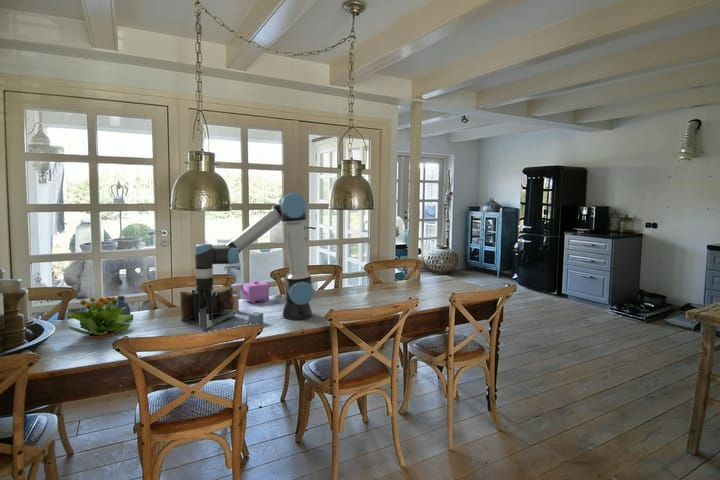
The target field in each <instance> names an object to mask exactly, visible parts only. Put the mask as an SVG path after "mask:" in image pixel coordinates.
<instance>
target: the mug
mask: <svg viewBox="0 0 720 480" xmlns="http://www.w3.org/2000/svg"><path fill="white" fill-rule="evenodd" d="M217 304H218V303H217ZM192 307H193V313H194V316H195V317H194V319H195V321H197V322H199V319H198V312H197V311H195V310H194V303H193V302H192ZM203 307H207V304H206V300H205V299H204V305H203Z"/></svg>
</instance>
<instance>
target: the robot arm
mask: <svg viewBox="0 0 720 480" xmlns="http://www.w3.org/2000/svg"><path fill="white" fill-rule="evenodd" d="M306 210H307V201H306V199H305V197H304V196H303V195H301V194H300V193H298V192H287V193H285V194H284V195H282V197H281V198H280V199H279V200H278V201H277V202H276V203H274V204H273V205H272V206H271V209H270V210H269V211H267V212H266V213H265V214H263V215H262V216H261V217H259V218H258V219H257V220H255V222H253V223H252V224H250V225H249V226H248V227H247V228H245V229H244V230H242V231H241V232H240V233H239V234H237V235H236V236H235V237H233V238H232V239H231V240H229V241H228V242H227V243H225V244H223V245H222V246H221V247H217V248H215V247H213V244H212V243H198V244H196V245H195V248H194V250H195V251H194V260H195V261H194V262H195V277H196V278H195V287H197V288H196V289H195V290H192V294H193V303H194V310H195V311H197V312H198V319H199V321H198V322H199V323H198V325H199V326H198V327H200V308H203V305H204V298H205V300H206V304H207V310H208V313H207V327H208V328H210V327H212V326H213V325H212V320H213V319H214V314H213V312H216V311H217V295H218V291H214V290H213V287H212V286H214V277H213V276H214V271H213V270H214V266H213V265H233V264H235V265H236V264H239V263H240V254H241V252H242V251H245V249H247V248H248V247H250V245H252V244H254V243H255V242H256V241H257V240H259V239H260V238H261V237H262V236H264V235H265V234H266V233H267V232H269V231H270V230H271V229H273V228H274V227H276V226H277V225H278V224H280V223H281V222H282V223H283V224H284V225H285V231H286V233H285V234H286V245H287V246H286V247H287V256H288V266H289V273H287V274H286V275H285V284H286V285H285V297H286V299H285V305H284V307H283V312H282V318H284V319H287V320H291V321H292V320H295V321H297V320H305V319H309V318H311V317H312V316H313V310H312V308H311V305H310V301H311V300H312V299H313V297H314V291H315V290H314V288H313V284H312V274H311V273H309V271H308V261H307V252H306V251H307V249H306V237H305V226H304V225H305V222H306V221H307V211H306ZM198 293H199V294H198ZM211 293H212V294H211ZM211 298H212V300H211ZM210 310H211V311H210Z"/></svg>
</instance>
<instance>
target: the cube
mask: <svg viewBox="0 0 720 480" xmlns="http://www.w3.org/2000/svg"><path fill="white" fill-rule="evenodd" d="M250 323H257V324H260V325H262V324H263V323H264V313H263V312H256V311H254V312H251V313H249V314H248V325H250Z"/></svg>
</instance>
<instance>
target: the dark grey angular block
mask: <svg viewBox="0 0 720 480" xmlns="http://www.w3.org/2000/svg"><path fill="white" fill-rule="evenodd" d="M210 311H211V310H210ZM207 313H208V310H207V307H203V308H200V326H199V327H200V328H203V329H207V328H209V327H207ZM214 313H215V315H218V316H217V317H213V320H212V326H213V325H215V324H217V323H219V322H222V321H224V320H226V319H229V318H232V317H233V316H236V312H235V309H229V308H221V307H217V311H216V312H214ZM220 314H223V315H220ZM219 315H220V316H219Z"/></svg>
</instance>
